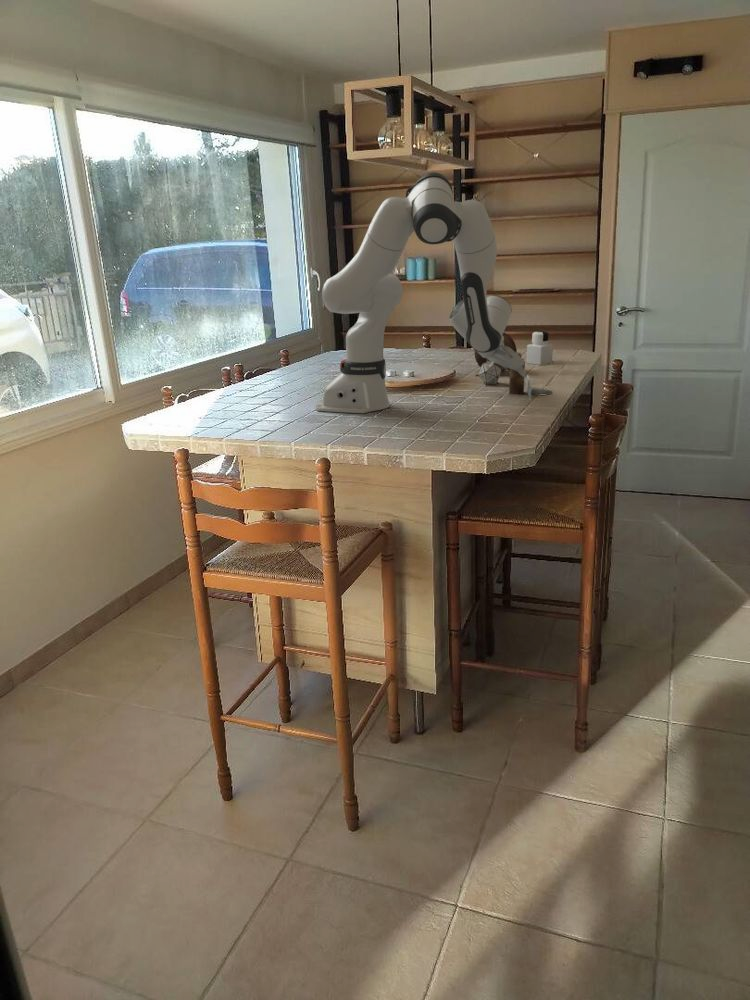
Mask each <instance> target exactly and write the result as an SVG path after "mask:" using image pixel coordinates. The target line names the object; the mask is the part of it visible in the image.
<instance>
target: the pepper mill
mask: <svg viewBox="0 0 750 1000" xmlns="http://www.w3.org/2000/svg"><path fill="white" fill-rule="evenodd" d="M516 354H517V355H519V356H520V357H521V358H522V353H520V352H517V353H516ZM522 359H523V361H524V365H523V366H522V367H523V369H524V370H525V371H526V369H525V368H526V361H525V359H524V358H522ZM508 383H509V385H508V387H509V390H508V394H510V395H523V394H524V393H525V376H524V377H522V376H520V375H519V374H518V372H517V371H516V370H513V369H510V372H509V382H508ZM522 393H523V394H522Z"/></svg>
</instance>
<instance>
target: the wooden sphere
mask: <svg viewBox="0 0 750 1000" xmlns="http://www.w3.org/2000/svg"><path fill="white" fill-rule="evenodd" d="M502 336H503V337H504V341H503V343H504V346H507V347H509V348H511V349H512V350H513V351H514V352H515V353H518V352H517V346H516V343H515V341H514V339H513V338H512V337H511V336H510V335H509V334H508V333H506V332H505V331H504V332H503V335H502ZM474 357H475V358H474V359H475V362H476V363H477V366H479V368H481V365H482V363H481V361H482V362H483V363H487V362H491V361H489V360H488V359H487V358H483V357H482V356H481V355H480V354H479V353H478V352H477V351H475V350H474ZM496 365H497V366H498V367H499V368H500V369H504V371H502V372H501V373H503V372H506V371H507V370H506V369H505V368H504V367H502V366H501V365H499V364H496Z"/></svg>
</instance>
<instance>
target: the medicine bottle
mask: <svg viewBox="0 0 750 1000" xmlns="http://www.w3.org/2000/svg"><path fill="white" fill-rule="evenodd" d="M531 337H532V338H531V343H530V344H527V345H526V357H525V358H526V359H525V360H526V361H525V364H528V365H535V366H545V365H550V364H552V363H553V354H554V353H553V351H554V345H553V344H551V343H549V332H547V331H542V330H541V331H534V332H532V335H531ZM549 363H550V364H549Z"/></svg>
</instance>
